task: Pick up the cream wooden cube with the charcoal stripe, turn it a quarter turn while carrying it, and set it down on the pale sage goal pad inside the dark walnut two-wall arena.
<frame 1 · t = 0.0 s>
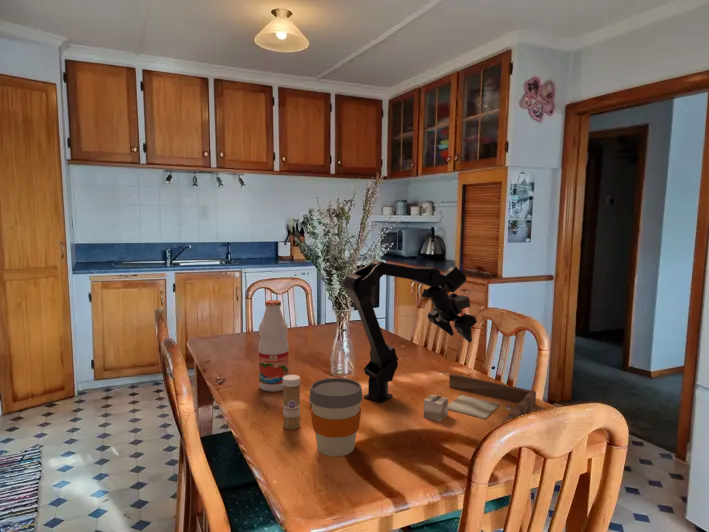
hand: (461, 338, 157), 15 cm above the table, tool tilted 35°, fingers open, 9 cm apart
pacifier: (321, 405, 140), on the table
reusable coffee cup: (335, 447, 114), on the table
fruit juice: (274, 387, 153), on the table
corner arena: (479, 408, 137), on the table
sprinkles bottle: (291, 427, 125), on the table
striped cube: (435, 416, 132), on the table
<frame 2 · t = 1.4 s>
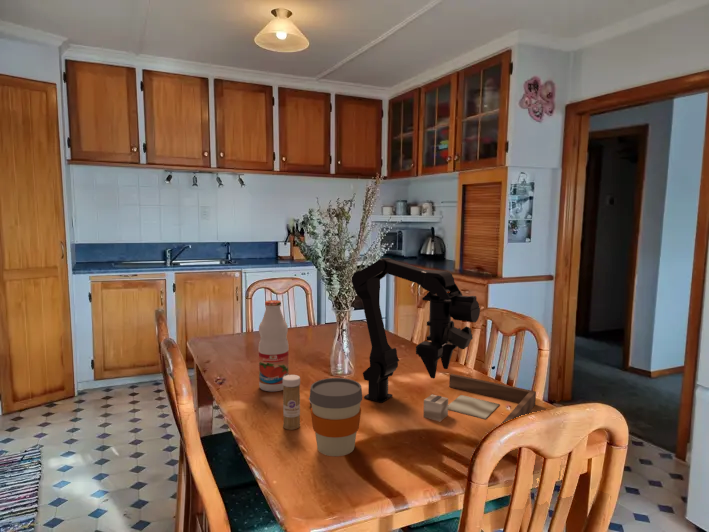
hand: (439, 373, 131), 12 cm above the table, tool pointing down, fingers open, 9 cm apart
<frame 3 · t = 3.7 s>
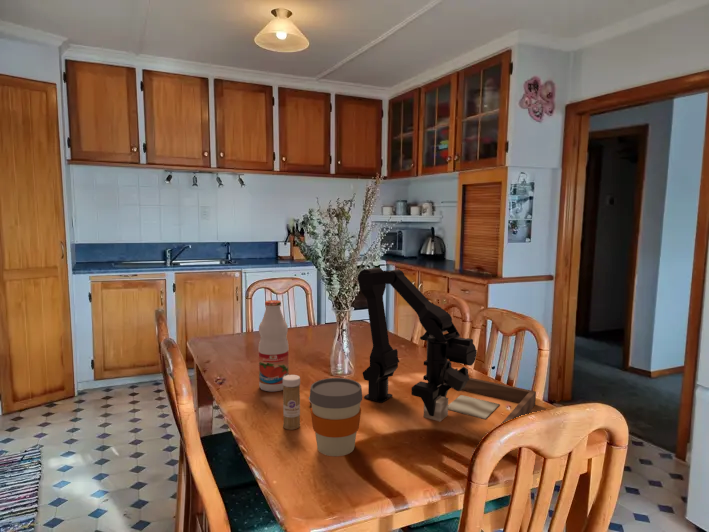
hand: (435, 412, 132), 1 cm above the table, tool pointing down, fingers closed on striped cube, 5 cm apart
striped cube: (435, 416, 132), on the table, touching gripper
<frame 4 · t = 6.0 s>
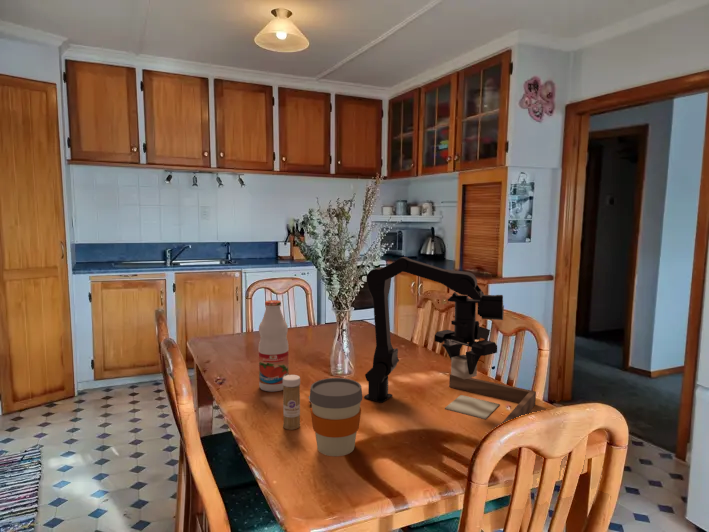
hand: (463, 371, 135), 11 cm above the table, tool pointing down, fingers closed on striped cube, 5 cm apart
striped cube: (463, 375, 135), point 10 cm above the table, touching gripper
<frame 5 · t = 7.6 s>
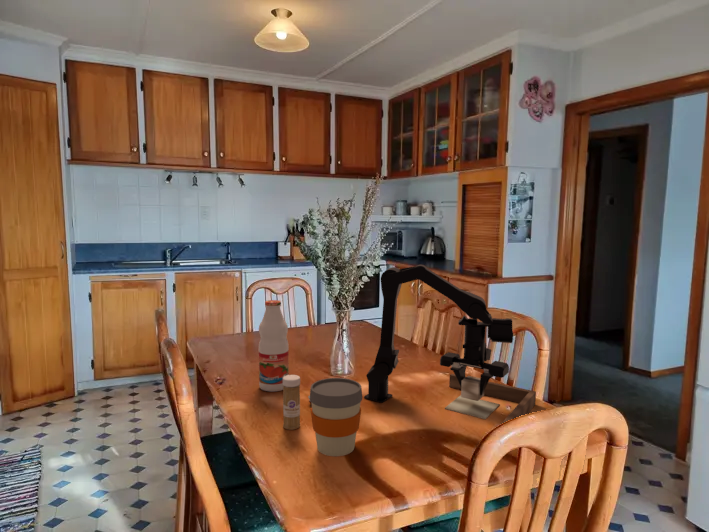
hand: (472, 393, 138), 4 cm above the table, tool pointing down, fingers closed on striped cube, 5 cm apart
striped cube: (472, 396, 138), point 3 cm above the table, touching gripper
when the fingers open (2 cm above the table, at t = 8.8 s): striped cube drops 1 cm, resting on corner arena.
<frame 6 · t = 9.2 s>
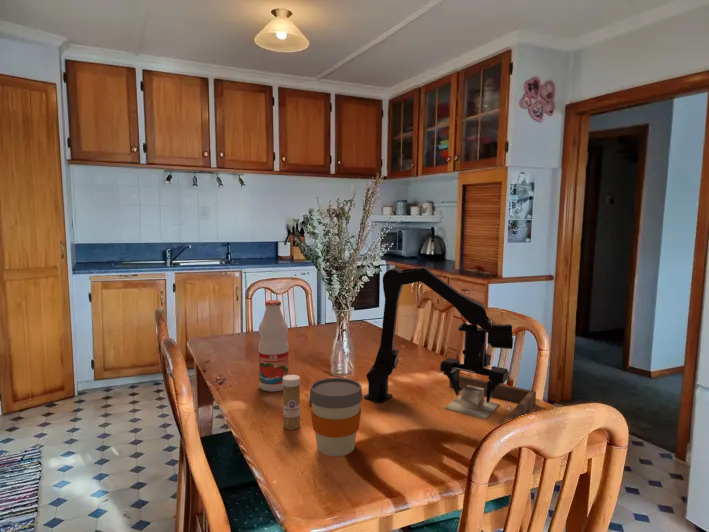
hand: (472, 398, 138), 2 cm above the table, tool pointing down, fingers open, 9 cm apart
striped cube: (472, 405, 138), resting on corner arena
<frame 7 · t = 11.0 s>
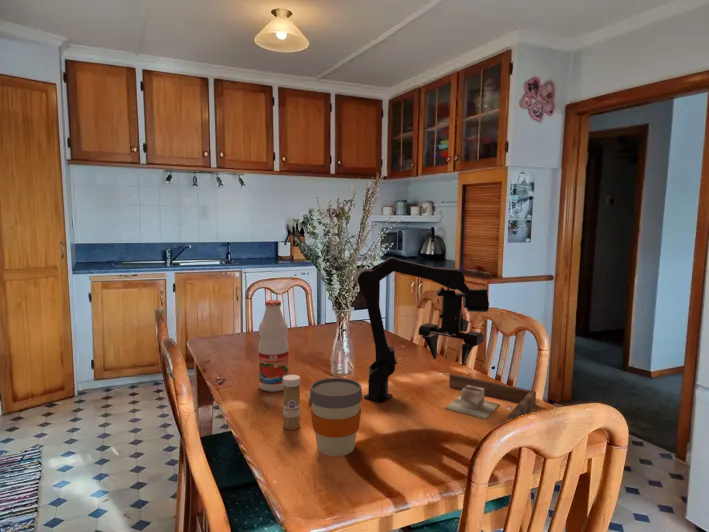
hand: (448, 361, 143), 12 cm above the table, tool pointing down, fingers open, 9 cm apart
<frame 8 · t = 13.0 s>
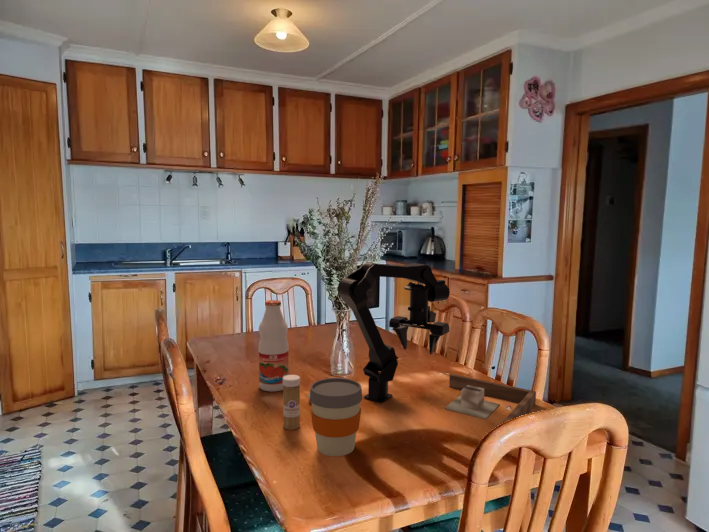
hand: (418, 351, 152), 12 cm above the table, tool pointing down, fingers open, 9 cm apart
at the end: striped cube inside the target area on the corner arena (0.0 cm from its centre), point 0.3 cm above the corner arena's base; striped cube tilted 0°; the gripper is holding nothing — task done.
